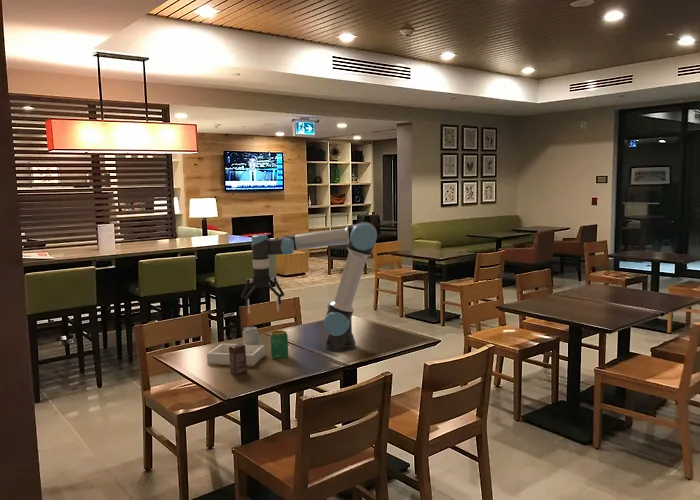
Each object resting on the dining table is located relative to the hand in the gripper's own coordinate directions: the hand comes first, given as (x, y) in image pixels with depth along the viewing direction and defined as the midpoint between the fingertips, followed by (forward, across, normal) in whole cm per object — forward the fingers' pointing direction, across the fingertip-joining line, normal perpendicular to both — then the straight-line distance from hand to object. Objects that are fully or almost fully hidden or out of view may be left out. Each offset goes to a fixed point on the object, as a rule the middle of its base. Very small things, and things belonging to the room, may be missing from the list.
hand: (263, 312), depth 267 cm
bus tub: (+21, +14, +4) cm, 25 cm away
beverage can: (+21, -6, +5) cm, 23 cm away
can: (+21, +7, -7) cm, 23 cm away
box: (+21, +12, +23) cm, 33 cm away
